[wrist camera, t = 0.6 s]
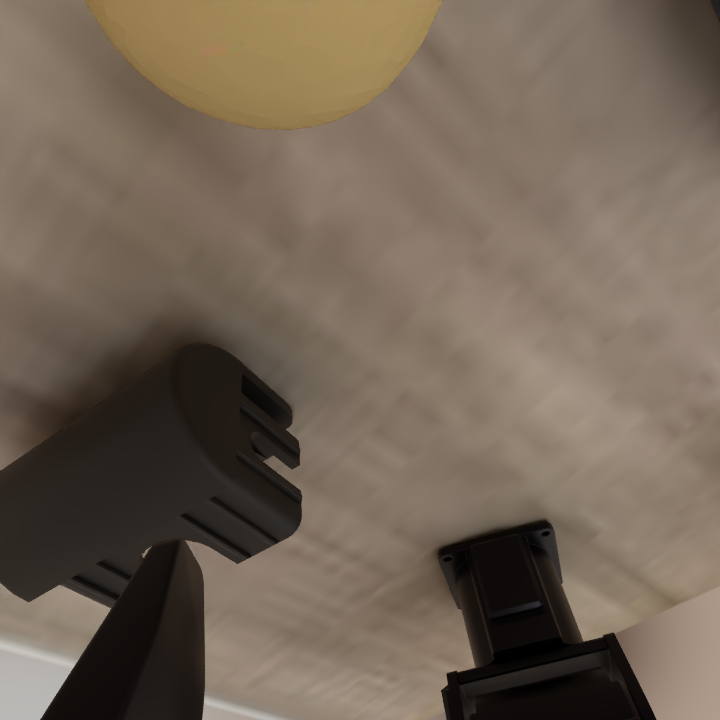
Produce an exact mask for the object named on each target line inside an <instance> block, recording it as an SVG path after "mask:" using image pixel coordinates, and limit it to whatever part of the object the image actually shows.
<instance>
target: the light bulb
mask: <svg viewBox="0 0 720 720" xmlns="http://www.w3.org/2000/svg"><path fill="white" fill-rule="evenodd" d="M85 1H86V3H87V5H88V7H89V9H90V10H91V12H92V14H93V15H94V17H95V18H96V20H97V21H98V23H99V25H100V26H101V28H102V29H103V31H104V32H105V34H106V36H107V37H108V39H109V40H110V42H111V43H112V45H113V46H114V47H115V48H116V49H117V50H118V51H119V52H120V53H121V54H122V55H123V56H124V57H125V58H126V59H127V61H128V62H129V63H130V64H131V65H132V66H133V67H134V68H135V69H136V70H137V71H138V72H139V73H140V74H141V75H143V76H144V77H145V78H146V79H148V80H149V81H150V82H152V83H153V84H154V85H156V86H157V87H158V88H160V89H161V90H162V91H164V92H165V93H167V94H168V95H170V96H172V97H173V98H175V99H176V100H178V101H180V102H181V103H183V104H184V105H186V106H188V107H190V108H193V109H195V110H197V111H200V112H202V113H205V114H207V115H209V116H212V117H214V118H216V119H219V120H222V121H226V122H230V123H235V124H239V125H243V126H247V127H252V128H261V129H281V130H291V129H299V128H307V127H313V126H317V125H321V124H325V123H328V122H332V121H335V120H337V119H340V118H342V117H344V116H346V115H348V114H350V113H352V112H354V111H356V110H358V109H360V108H362V107H364V106H365V105H366V104H367V103H369V102H370V101H371V100H372V99H374V98H375V97H376V96H377V95H379V94H380V93H381V92H382V91H384V90H385V89H386V88H387V87H389V86H390V84H391V83H392V82H393V81H394V80H395V79H396V77H397V76H398V75H399V74H400V73H401V72H402V70H403V69H404V68H405V67H406V66H407V64H408V63H409V62H410V60H411V59H412V57H413V56H414V54H415V53H416V52H417V50H418V49H419V47H420V46H421V44H422V43H423V41H424V39H425V37H426V35H427V33H428V31H429V29H430V27H431V25H432V23H433V21H434V18H435V16H436V14H437V12H438V10H439V8H440V5H441V2H442V0H85Z"/></svg>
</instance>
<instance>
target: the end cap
mask: <svg viewBox="0 0 720 720" xmlns="http://www.w3.org/2000/svg"><path fill="white" fill-rule="evenodd" d="M292 419H293V417H292V409H291V408H290V406H289V405H288V404H287V403H286V402H285V401H284V400H283V399H282V398H281V397H279V396H278V395H277V394H276V393H275V392H274V391H273V390H271V389H270V388H269V387H268V386H267V385H266V384H265V383H264V382H262V381H261V380H260V379H259V378H258V377H257V376H256V375H254V374H253V373H252V372H251V371H250V370H249V369H248V368H247V367H245V366H244V365H243V363H242V362H240V361H239V360H238V359H236V358H235V357H234V356H233V355H231V354H230V353H228V352H226V351H224V350H223V349H221V348H218V347H216V346H213V345H210V344H204V343H193V344H188V345H185V346H184V347H182V348H180V349H179V350H177V351H175V352H174V353H173V354H171V355H170V356H168V357H167V358H165V359H164V360H162V361H161V362H159V363H158V364H156V365H155V366H153V367H152V368H151V369H149V370H148V371H146V372H145V373H143V374H142V375H140V376H139V377H137V378H136V379H134V380H133V381H131V382H130V383H129V384H127V385H126V386H124V387H123V388H121V389H120V390H118V391H117V392H115V393H114V394H112V395H111V396H109V397H108V398H107V399H105V400H104V401H102V402H101V403H99V404H98V405H96V406H95V407H93V408H92V409H90V410H89V411H87V412H86V413H85V414H83V415H82V416H80V417H79V418H77V419H76V420H74V421H73V422H71V423H70V424H68V425H67V426H65V427H64V428H63V429H61V430H60V431H58V432H57V433H55V434H54V435H52V436H51V437H49V438H48V439H46V440H45V441H43V442H42V443H41V444H39V445H38V446H36V447H35V448H33V449H32V450H30V451H29V452H27V453H26V454H24V455H23V456H21V457H20V458H19V459H17V460H16V461H14V462H13V463H11V464H10V465H8V466H7V467H5V468H4V469H2V470H1V471H0V583H1V584H2V585H3V586H5V587H6V588H7V589H8V590H9V591H11V592H12V593H13V594H14V595H16V596H18V597H20V598H22V599H23V600H25V601H27V602H30V601H32V600H34V599H35V598H37V597H39V596H41V595H42V594H44V593H46V592H48V591H49V590H51V589H53V588H55V587H56V586H58V585H62V586H64V587H66V588H68V589H71V590H73V591H75V592H77V593H79V594H81V595H83V596H86V597H88V598H90V599H92V600H94V601H96V602H99V603H101V604H103V605H105V606H107V607H109V608H111V609H112V607H113V605H114V604H115V602H116V601H117V599H118V598H119V596H120V595H121V593H122V591H123V590H124V588H125V587H126V585H127V584H128V582H129V581H130V579H131V577H132V576H133V574H134V573H135V571H136V570H137V568H138V567H139V565H140V563H141V562H142V560H143V559H144V558H143V557H142V553H144V552H145V550H146V549H148V548H149V547H151V546H153V545H154V544H155V543H157V542H159V541H165V540H170V539H176V538H181V539H183V540H189V541H194V542H198V543H201V544H204V545H206V546H208V547H210V548H212V549H214V550H215V551H217V552H219V553H220V554H222V555H224V556H225V557H227V558H229V559H230V560H232V561H234V562H235V563H237V564H238V563H240V562H242V561H244V560H246V559H248V558H250V557H252V556H254V555H256V554H258V553H259V552H261V551H263V550H265V549H267V548H269V547H271V546H273V545H275V544H277V543H279V542H281V541H282V540H284V539H286V538H288V537H290V536H291V535H293V533H294V532H295V531H296V530H297V528H298V527H299V525H300V522H301V518H302V509H301V502H302V494H301V491H300V490H299V489H298V488H296V487H295V486H294V485H292V484H291V483H290V482H289V481H287V480H286V479H285V478H283V477H282V476H281V475H280V474H278V473H277V472H276V471H274V470H273V469H272V468H270V467H269V466H268V465H267V464H265V463H264V462H263V461H264V460H266V459H268V458H270V457H271V456H273V455H274V456H275V457H277V458H278V459H279V460H280V461H282V462H283V463H284V464H285V465H287V466H288V467H289V468H291V469H294V468H296V467H297V466H299V465H300V448H299V442H298V440H297V439H296V438H295V437H294V436H293V435H291V434H290V433H289V432H288V431H287V430H285V429H287V428H288V427H289V426H290V425H291V424H292Z"/></svg>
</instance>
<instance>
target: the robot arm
mask: <svg viewBox="0 0 720 720" xmlns="http://www.w3.org/2000/svg"><path fill="white" fill-rule="evenodd" d="M438 559H439V563H440V565H441V568H442V570H443V573H444V575H445V578H446V580H447V582H448V585H449V587H450V590H451V592H452V595H453V597H454V600H455V602H456V605H457V607H458V609H460V610H462V613H463V617H464V621H465V626H466V630H467V634H468V638H469V642H470V646H471V650H472V655H473V659H474V663H475V667H476V668H474V669H470V670H466V671H461V672H457V671H453V672H449V673H447V680H448V685H447V686H446V687H445V688H444V689H442V690H441V692H442V697H443V703H444V708H445V713H446V719H447V720H656V718H655V716H654V713H653V711H652V709H651V707H650V705H649V703H648V700H647V698H646V696H645V694H644V692H643V691H642V689H641V687H640V684H639V682H638V680H637V678H636V676H635V674H634V673H633V670H632V668H631V667H630V664H629V663H628V660H627V658H626V656H625V654H624V652H623V650H622V648H621V646H620V644H619V642H618V640H617V638H616V636H615V634H614V633H610V634H605V635H603V637H602V638H597V639H593V640H589V641H585V642H583V639H582V636H581V634H580V631H579V629H578V626H577V623H576V621H575V618H574V616H573V613H572V610H571V608H570V605H569V603H568V600H567V597H566V595H565V592H564V590H563V587H562V585H561V584H562V582H563V581H562V575H561V569H560V563H559V557H558V551H557V545H556V539H555V533H554V530H553V527H552V525H551V524H550V523H548V522H543V523H539V524H535V525H531V526H527V527H523V528H520V529H516V530H512V531H508V532H504V533H501V534H497V535H493V536H489V537H485V538H481V539H478V540H474V541H470V542H466V543H462V544H458V545H455V546H451V547H447V548H444V549H441V550H440V551H439V552H438ZM204 691H205V635H204V581H203V574H202V570H201V568H200V565H199V564H198V562H197V560H196V559H195V557H194V555H193V553H192V552H191V550H190V548H189V546H188V545H187V543H186V542H185V540H183V539H181V538H176V539H170V540H165V541H159V542H157V543H155V544H154V545H153V546H152V547H151V548H150V549H149V551H148V553H147V554H146V556H145V557H144V559H143V560H142V562H141V563H140V565H139V567H138V568H137V570H136V571H135V573H134V574H133V576H132V577H131V579H130V581H129V582H128V584H127V585H126V587H125V588H124V590H123V591H122V593H121V595H120V596H119V598H118V599H117V601H116V602H115V604H114V605H113V607H112V609H111V610H110V612H109V613H108V615H107V616H106V618H105V620H104V621H103V623H102V624H101V626H100V627H99V629H98V630H97V632H96V634H95V635H94V637H93V638H92V640H91V641H90V643H89V644H88V646H87V648H86V649H85V651H84V652H83V654H82V655H81V657H80V658H79V660H78V662H77V663H76V665H75V666H74V668H73V669H72V671H71V673H70V674H69V676H68V677H67V679H66V680H65V682H64V683H63V685H62V687H61V688H60V690H59V691H58V693H57V694H56V696H55V697H54V699H53V701H52V702H51V704H50V705H49V707H48V708H47V710H46V712H45V713H44V715H43V716H42V718H41V719H40V720H202V714H203V705H204Z"/></svg>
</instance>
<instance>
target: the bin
mask: <svg viewBox="0 0 720 720" xmlns="http://www.w3.org/2000/svg"><path fill="white" fill-rule="evenodd" d="M710 1H711V3H712V5H713V8H714V10H715V12H716V14H717V16H718V18H719V20H720V0H710Z"/></svg>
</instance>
